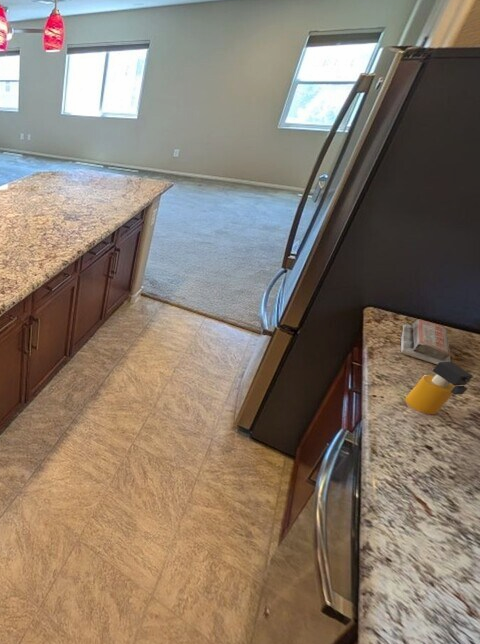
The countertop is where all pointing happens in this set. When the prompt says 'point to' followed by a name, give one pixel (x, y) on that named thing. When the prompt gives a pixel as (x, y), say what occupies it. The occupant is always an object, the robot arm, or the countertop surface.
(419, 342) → the packaged product
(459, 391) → the trigger
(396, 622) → the countertop surface
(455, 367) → the spray bottle
